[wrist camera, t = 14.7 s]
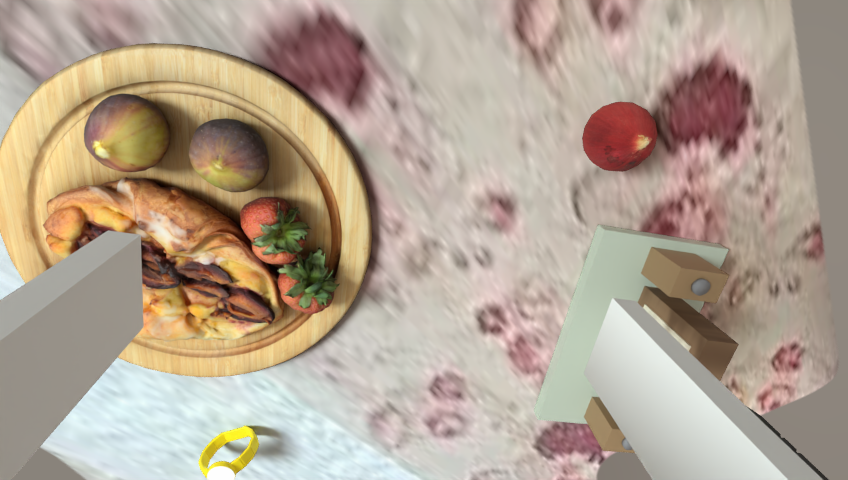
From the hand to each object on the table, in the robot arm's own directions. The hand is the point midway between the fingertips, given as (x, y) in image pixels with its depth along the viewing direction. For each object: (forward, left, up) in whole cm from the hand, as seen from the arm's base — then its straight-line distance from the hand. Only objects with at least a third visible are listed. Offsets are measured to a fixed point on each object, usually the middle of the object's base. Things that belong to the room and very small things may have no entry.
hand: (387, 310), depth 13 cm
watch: (+36, -11, -31) cm, 49 cm away
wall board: (+17, +30, -31) cm, 46 cm away
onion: (-4, +20, -31) cm, 37 cm away
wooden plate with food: (+12, -15, -31) cm, 37 cm away
